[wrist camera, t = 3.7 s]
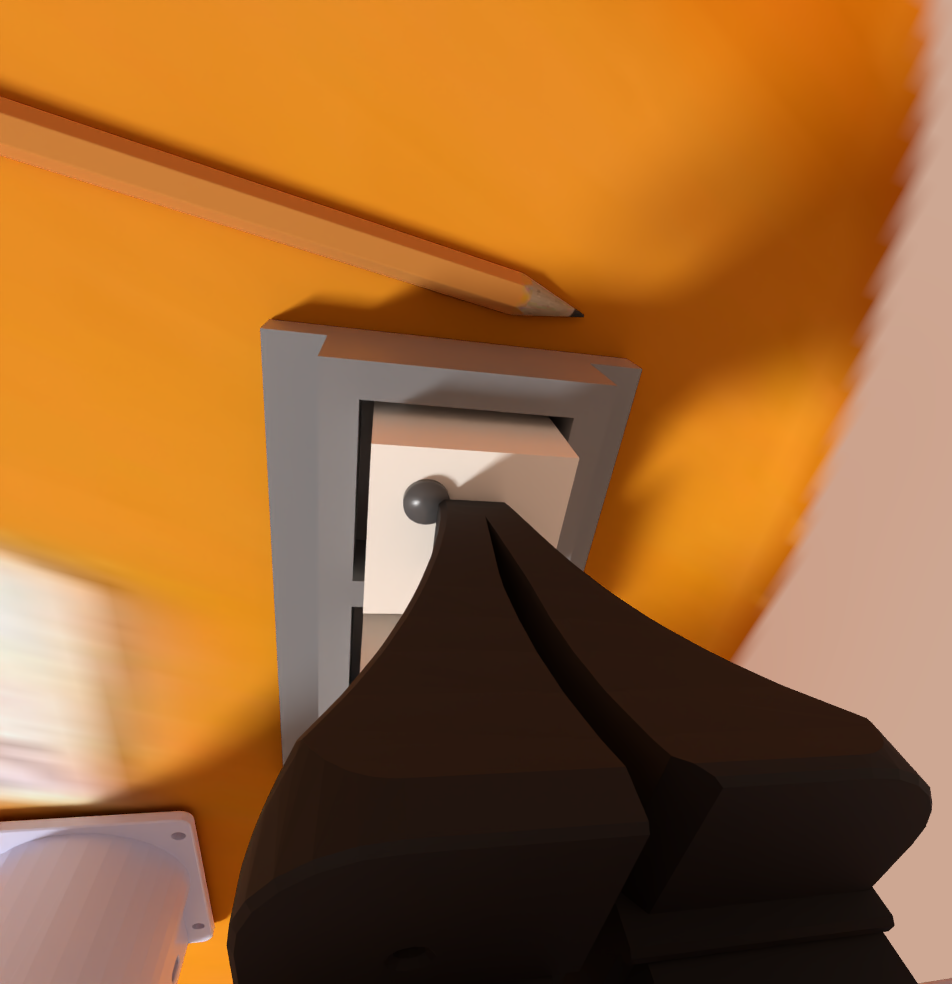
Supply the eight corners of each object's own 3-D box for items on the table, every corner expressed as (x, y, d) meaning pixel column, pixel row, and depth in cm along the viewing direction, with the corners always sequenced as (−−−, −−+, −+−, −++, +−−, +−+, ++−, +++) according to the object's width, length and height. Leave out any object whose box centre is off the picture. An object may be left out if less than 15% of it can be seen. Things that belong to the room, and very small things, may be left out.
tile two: (517, 554, 14) (541, 620, 12) (367, 549, 13) (362, 619, 11) (547, 414, 12) (582, 462, 10) (374, 400, 12) (370, 448, 9)
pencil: (-484, 15, 8) (571, 340, 14) (-592, -51, 7) (590, 327, 13) (-465, -38, 8) (577, 305, 14) (-568, -109, 7) (596, 289, 13)
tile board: (515, 763, 22) (531, 834, 19) (289, 775, 20) (275, 853, 18) (626, 358, 14) (676, 391, 11) (269, 319, 12) (239, 348, 10)
